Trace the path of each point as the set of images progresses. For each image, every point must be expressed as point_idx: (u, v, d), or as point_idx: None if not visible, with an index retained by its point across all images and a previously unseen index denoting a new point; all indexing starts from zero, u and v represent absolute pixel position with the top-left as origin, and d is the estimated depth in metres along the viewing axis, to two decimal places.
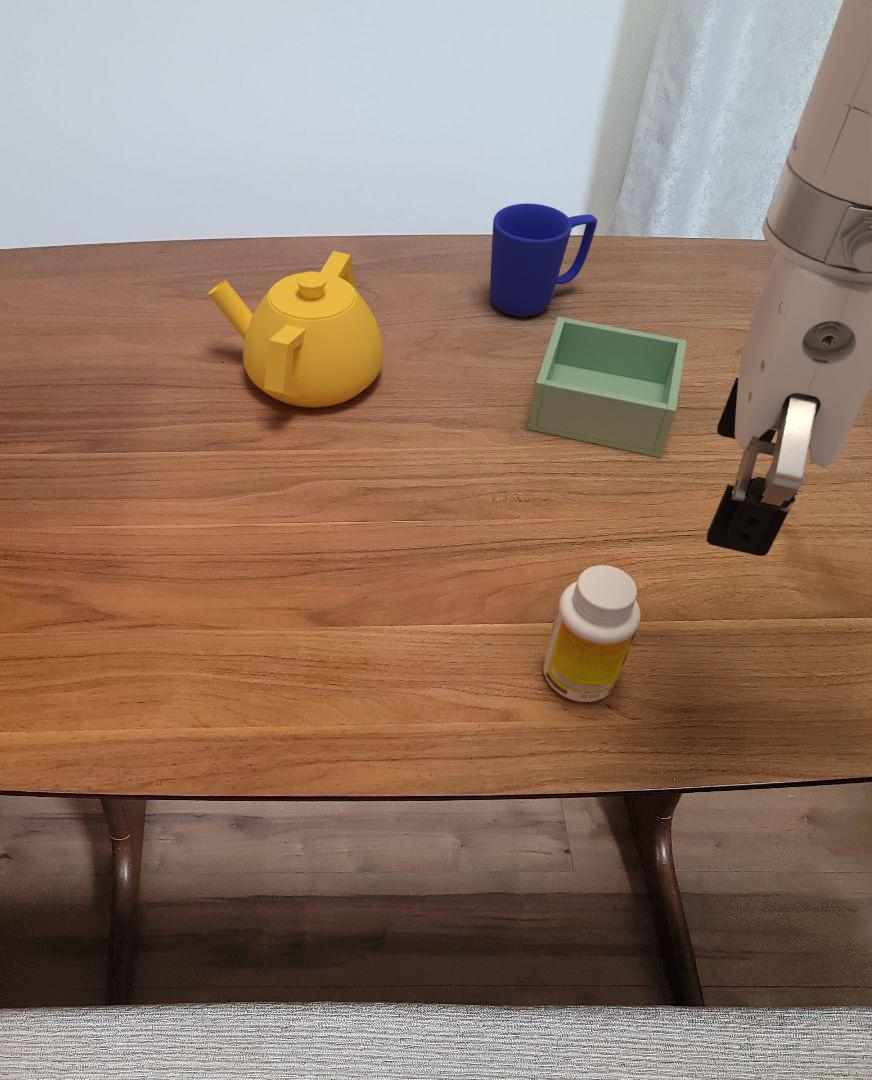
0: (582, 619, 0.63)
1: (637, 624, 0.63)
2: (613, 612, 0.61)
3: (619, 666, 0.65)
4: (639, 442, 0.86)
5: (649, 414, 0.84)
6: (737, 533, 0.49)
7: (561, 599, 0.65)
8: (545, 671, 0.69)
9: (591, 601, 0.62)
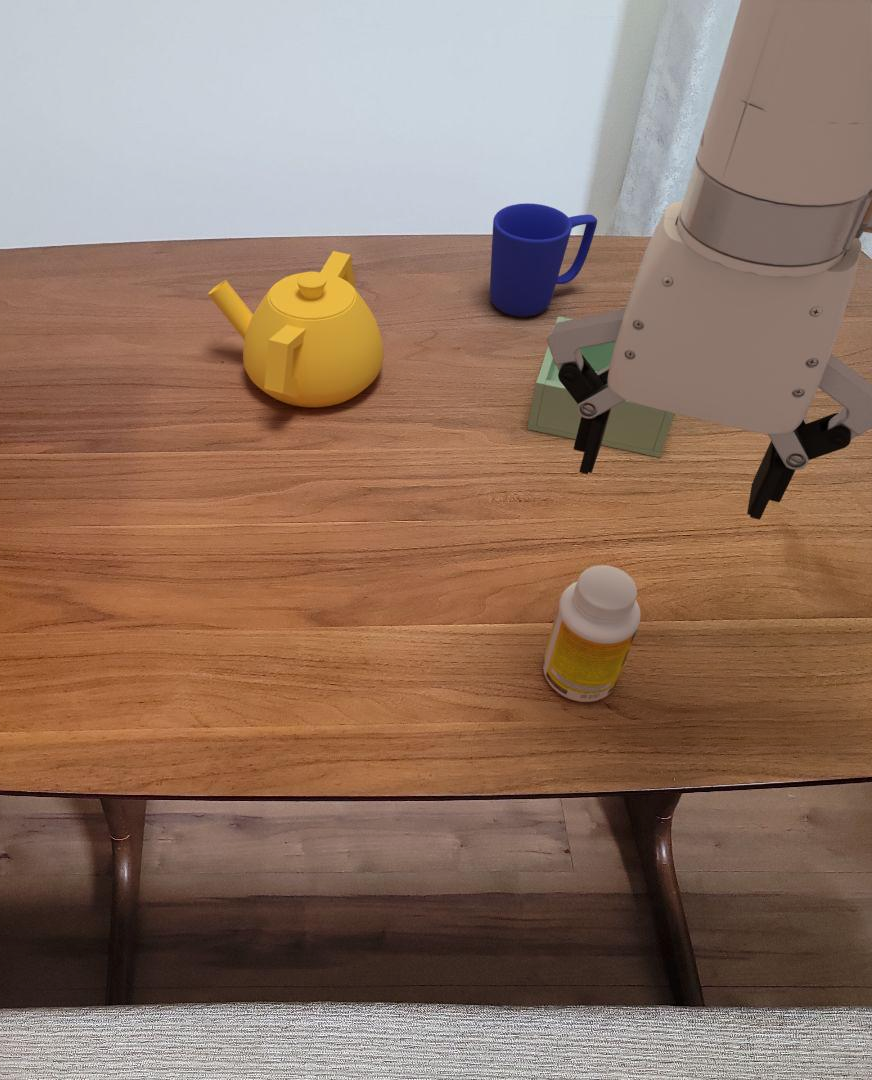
0: (582, 619, 0.63)
1: (637, 624, 0.63)
2: (613, 612, 0.61)
3: (619, 666, 0.65)
4: (639, 442, 0.86)
5: (649, 414, 0.84)
6: None
7: (561, 599, 0.65)
8: (545, 671, 0.69)
9: (592, 601, 0.62)
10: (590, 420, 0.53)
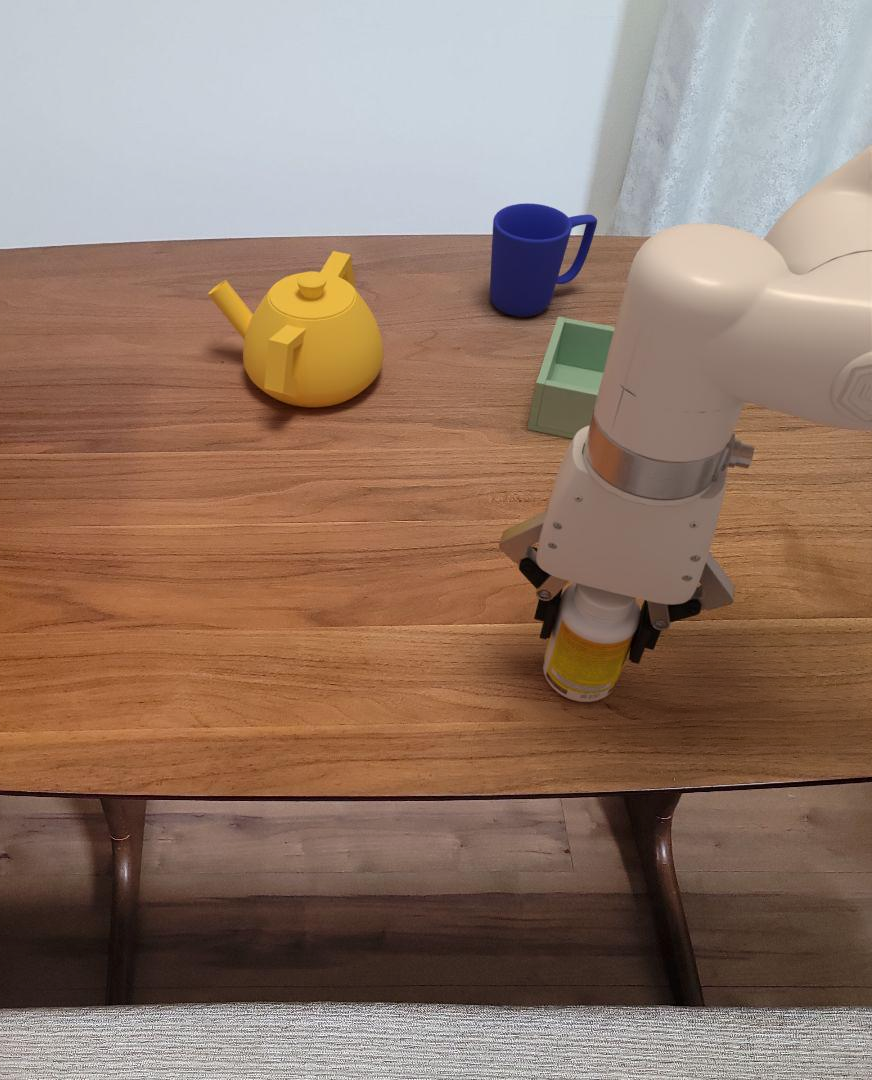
0: (582, 619, 0.63)
1: (637, 624, 0.63)
2: (613, 612, 0.61)
3: (619, 666, 0.65)
4: None
5: None
6: None
7: (561, 599, 0.65)
8: (545, 671, 0.69)
9: (592, 601, 0.62)
10: None
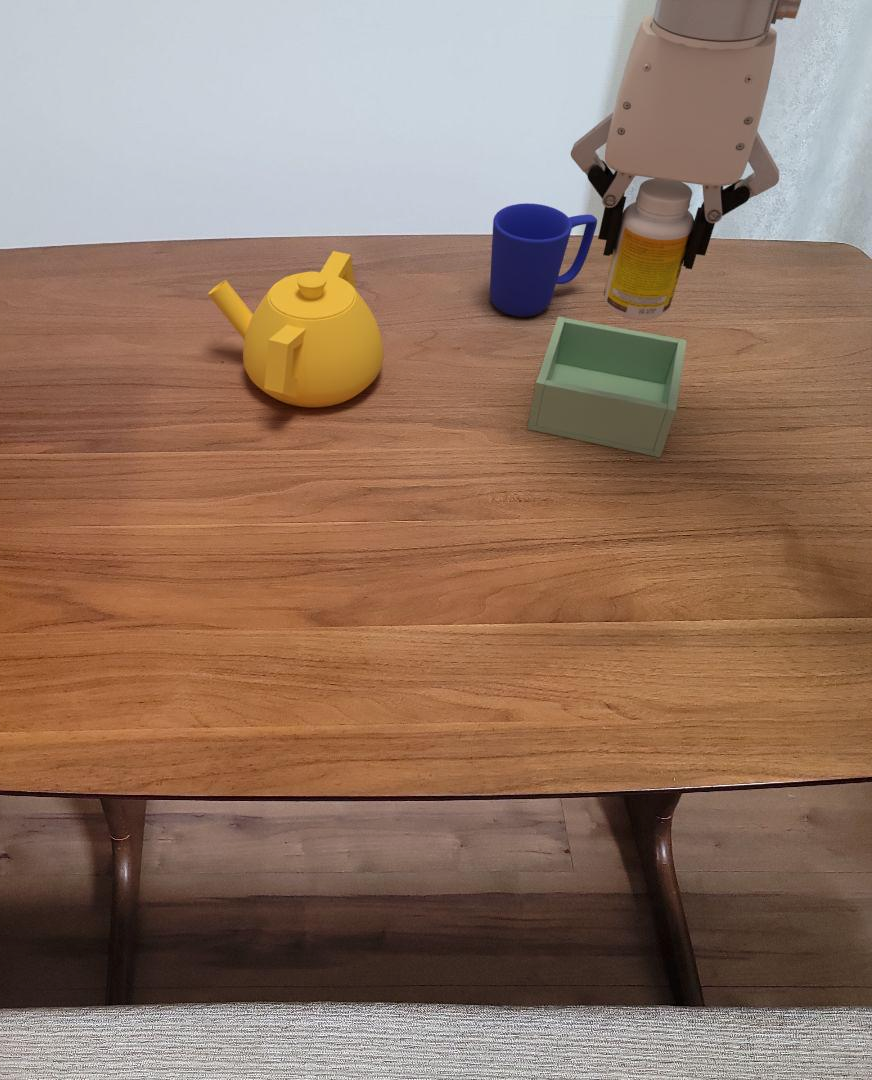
0: (644, 221, 0.72)
1: (691, 225, 0.72)
2: (672, 205, 0.70)
3: (674, 276, 0.74)
4: (639, 442, 0.86)
5: (649, 414, 0.84)
6: (708, 243, 0.72)
7: (623, 212, 0.73)
8: (606, 298, 0.77)
9: (653, 197, 0.70)
10: (611, 211, 0.73)
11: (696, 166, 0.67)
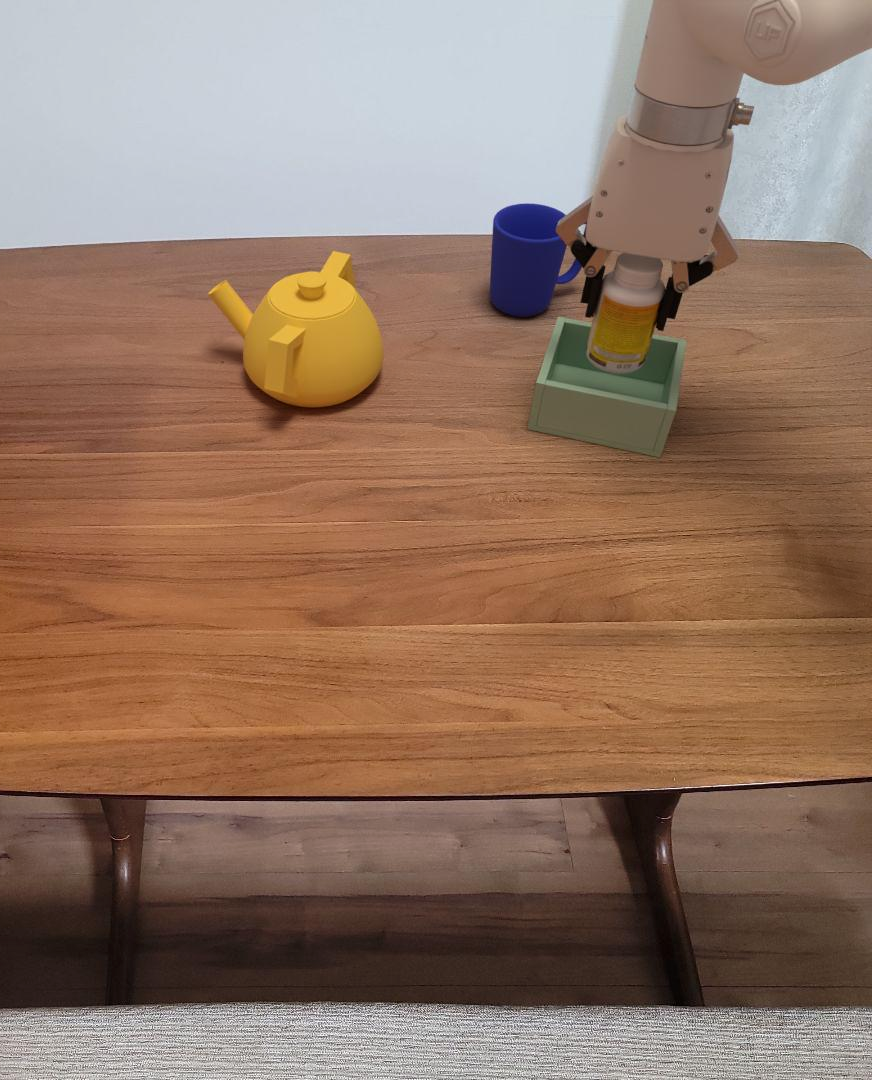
0: (620, 289, 0.81)
1: (663, 293, 0.81)
2: (644, 277, 0.79)
3: (648, 336, 0.83)
4: (639, 442, 0.86)
5: (649, 414, 0.84)
6: None
7: (603, 280, 0.82)
8: (588, 353, 0.87)
9: (628, 270, 0.79)
10: (591, 279, 0.82)
11: (665, 245, 0.76)
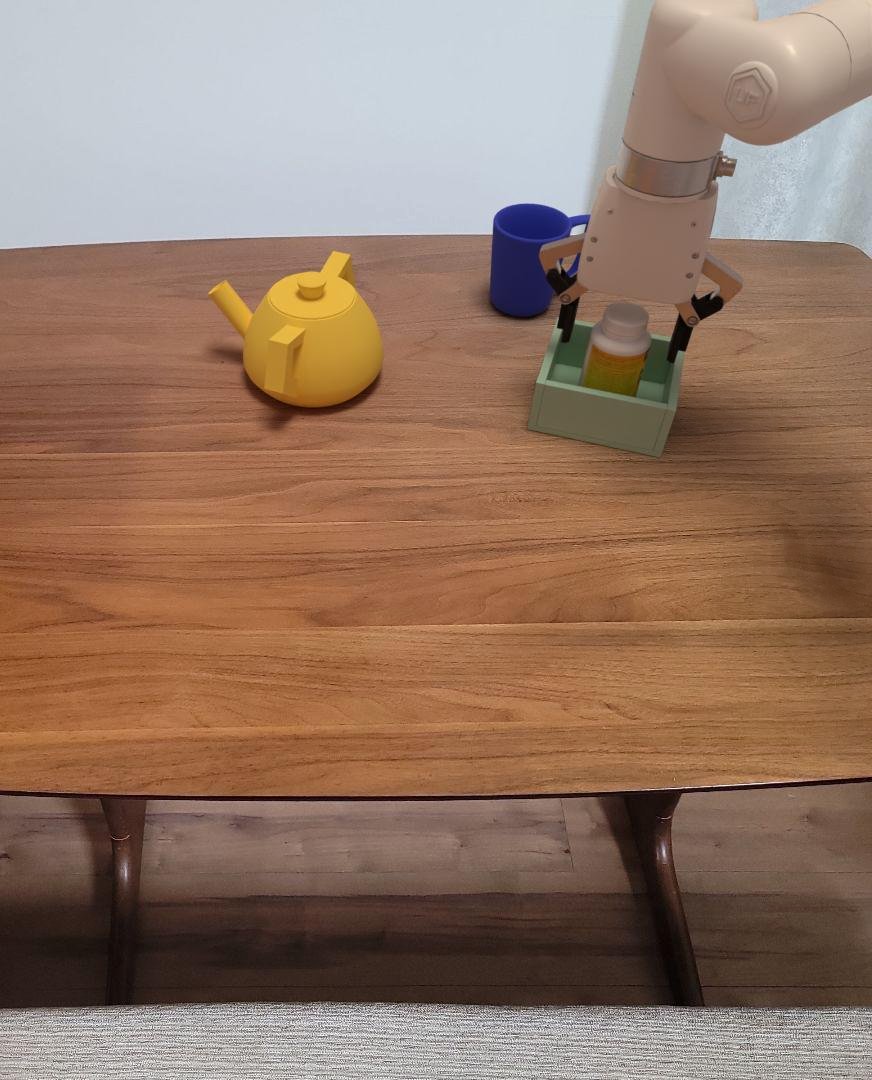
0: (608, 339, 0.84)
1: (649, 343, 0.85)
2: (631, 328, 0.83)
3: (635, 383, 0.87)
4: (639, 442, 0.86)
5: (649, 414, 0.84)
6: None
7: (592, 330, 0.86)
8: None
9: (615, 322, 0.83)
10: (567, 306, 0.85)
11: (653, 289, 0.79)
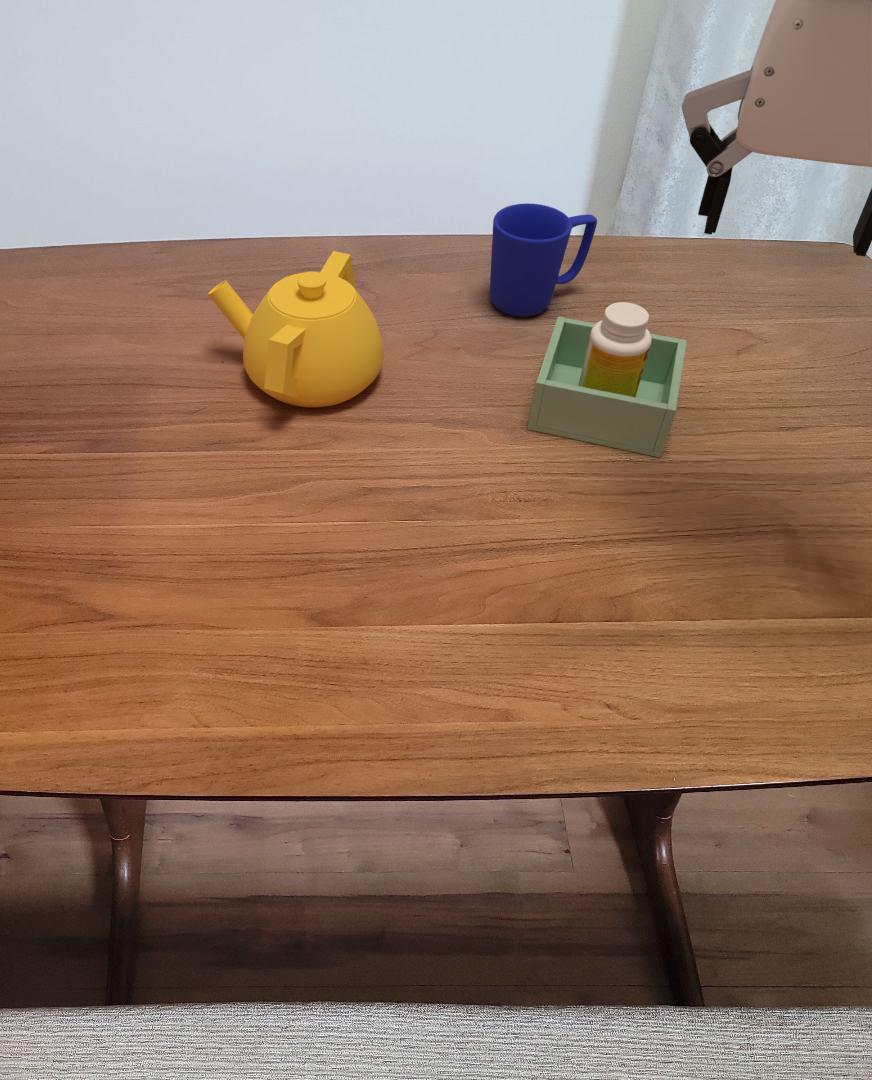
0: (608, 339, 0.84)
1: (649, 343, 0.85)
2: (631, 329, 0.83)
3: (635, 383, 0.87)
4: (639, 442, 0.86)
5: (649, 414, 0.84)
6: None
7: (592, 330, 0.86)
8: None
9: (615, 322, 0.83)
10: (716, 181, 0.62)
11: (849, 143, 0.57)
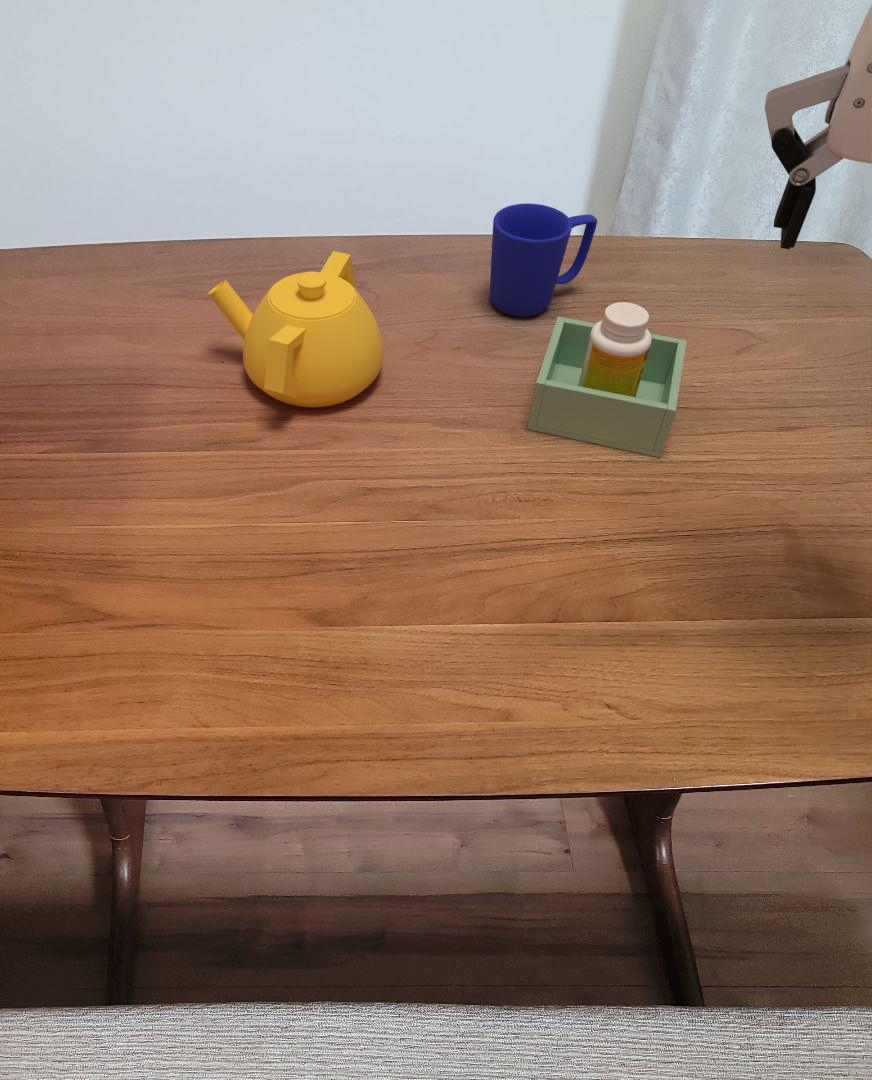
0: (608, 339, 0.84)
1: (649, 343, 0.85)
2: (631, 329, 0.83)
3: (635, 383, 0.87)
4: (639, 442, 0.86)
5: (649, 414, 0.84)
6: None
7: (592, 330, 0.86)
8: None
9: (615, 322, 0.83)
10: (798, 190, 0.56)
11: None
